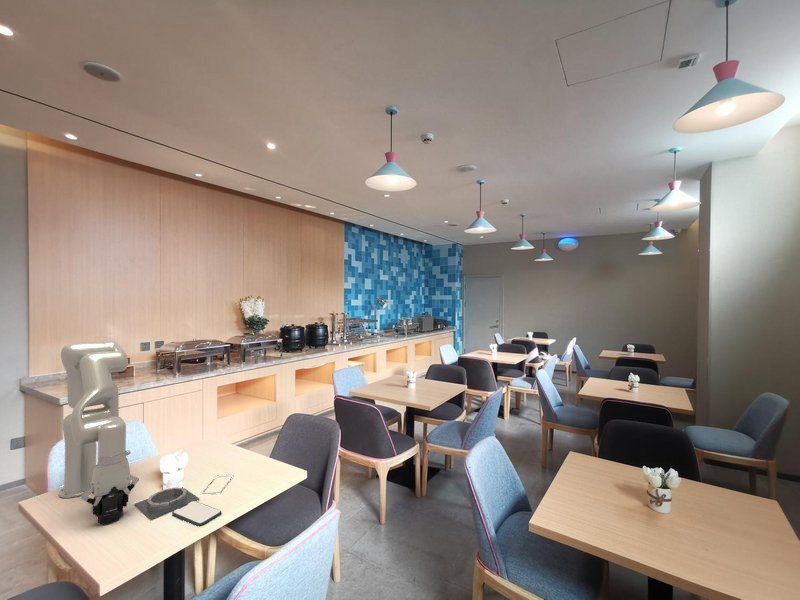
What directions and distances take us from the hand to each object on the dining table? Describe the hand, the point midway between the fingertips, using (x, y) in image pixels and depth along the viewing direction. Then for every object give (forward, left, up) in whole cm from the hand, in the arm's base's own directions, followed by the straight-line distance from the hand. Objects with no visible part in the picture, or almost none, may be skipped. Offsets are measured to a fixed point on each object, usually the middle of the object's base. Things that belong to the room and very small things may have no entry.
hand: (111, 509), depth 122 cm
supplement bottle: (0, 0, -4) cm, 4 cm away
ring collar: (+4, +16, -3) cm, 17 cm away
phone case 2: (+6, +34, -4) cm, 35 cm away
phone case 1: (+21, +19, -4) cm, 29 cm away
